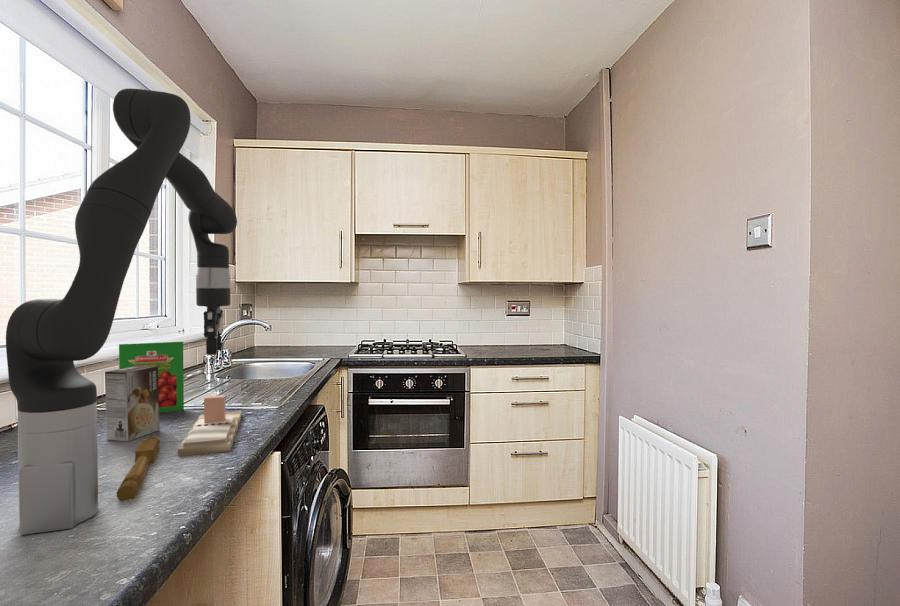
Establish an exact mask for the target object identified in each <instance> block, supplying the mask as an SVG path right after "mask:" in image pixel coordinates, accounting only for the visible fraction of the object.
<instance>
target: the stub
mask: <svg viewBox="0 0 900 606" xmlns="http://www.w3.org/2000/svg"><path fill="white" fill-rule="evenodd" d="M226 399H227V398H226V394H216V395H215V394H213V395H205V396H204V398H203V414H204V419H199V420H198V421H197V420H196V421H197V423H196V424H195V423H194V424H195V426H197V425H205V424H208V425H211V424H214V423H215V424H218V423H222V424H225V423H226V422H229V423H232V424H233V422H234V416H232V417H226V412H227V411H226V405H227V404H226V402H227V401H226Z"/></svg>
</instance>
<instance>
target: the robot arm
mask: <svg viewBox="0 0 900 606" xmlns="http://www.w3.org/2000/svg"><path fill="white" fill-rule="evenodd" d="M188 105H189V104H188V103H187V102H186V101H185V100H184V99H183V98H182V97H181V96H179V95H178V94H175V93H169V92H166V91H158V90H151V89H142V88H123V89H120V90H119V91H118V92H117V93H116V95H115V96H114V99H113V102H112V113H113V118H114V120H115V123H116V125H117V126H118V128H119V129H120V131H121V132H122V134H123V135H124V136H125V138H127V140H128V141H129V142H130V143H132V144H133V145H134V146H135V148H136V149H135V150H134V151H133V152H132V153H130V154H129V155H127V156H126V157H125V158H123V159H122V160H120V161H118V162H117V163H115V164H114V165H113V166H111V167H110V168H108V169H106V170H105V171H104V172H102V173H101V174H100V175H98V176H97V177H96V178H95V179H94V180H93V181H92V183H91V184H90V185H89V187H88V189H87V190H86V192H85V195H84V197H83V200H82V201H81V203H80V205H79V208H78V210H77V212H76V215H75V220H74V230H75V238H76V241H77V242H76V243H77V246H78V247H77V248H78V251H79V264H78V268H77V270H76V274H75V276H74V278H73V281H72V282H71V284H70V287H69V289H68V291H67V292H66V294H65V296H64V297H63V298H43V299H42V298H39V299H38V298H36V299H33V300H32V299H31V300H28V301H25V302H23V303H21V304H20V305H19V306H17V307H16V308H15V309H14V310H13V311H12V313H11V315H10V317H9V318H8V322H7V324H6V330H5V349H6V351H5V352H6V362H7V372H8V373H7V374H8V383H9V387H10V390H11V392H12V394H13V395H14V398H15V399H16V402H17V403H16V405H17V408H16V409H17V451H18V452H17V459H18V461H17V463H18V466H17V468H18V469H17V471H18V473H17V474H18V511H19V514H18V515H19V535H20V536H23V535H24V536H25V535H31V534H38V533H44V532H45V533H46V532H47V533H48V532H53V531H60V530H68V529H73V528H74V527H75V526H76V525H78V524H80V523H83V522H85V521H87V520H88V519H90V518H92V517H93V516H94V515H96V514H97V513H98V511H99V475H98V474H99V472H98V469H99V466H98V403H97V402H98V401H97V400H98V392H97V385H96V384H95V383H94V382H93V381H92V380H90V379H88V378H86V377H84V376H83V375H82V374H81V373H80V372H79V370H77V368H76V365H75V363H74V362H78V361H79V362H81V361H84V360H88V359H90V358H92V357H94V356H95V355H96V354H97V353H98V352H99V351H100V350H101V349H102V348H103V347H104V345H105V344H106V341H107V339H108V337H109V335H110V332H111V330H112V326H113V322H114V318H115V316H116V312H117V308H118V304H119V300H120V295H121V293H122V288H123V285H124V283H125V280H126V276H127V273H128V271H129V268H130V266H131V263H132V260H133V257H134V254H135V251H136V250H137V248H138V244H139V241H140V239H141V237H142V236H143V233H144V231H145V229H146V226H147V224H148V221H149V219H150V216H151V213H152V210H153V208H154V205H155V202H156V200H157V197H158V195H159V192H160V190H161V188H162V186H163V183H164V181H165V179H166V180H168V182H169V184H170V185H171V186H172V188H173V189H174V190H175V192H176V194H177V195H178V197H179V198H180V200H181V201H182V203H183V204H184V206H185V207H186V208H187V209H188V213H187V214H188V215H187V218H188V224H189V228H190V231H191V233H192V234H191V235H192V236H193V237H192V238H193V241H194V244H195V248H196V268H197V269H196V275H195V277H196V278H195V285H196V287H195V292H196V293H195V294H196V297H195V298H196V299H195V300H196V301H195V302H196V306H197V307H205V308H206V311H203V337H204V338H205V340H206V341H205V342H206V345H205V346H206V355H208V356H212V355H213V356H214V355H215V356H216V355H217V354H218V352H219V351H221V350H222V336H223V332H224V310H223V309H221V307H229V306H231V275H230V251H229V247H228V246H226V245H225V244H222V243H218V242H213V241H211V239H210V237H209V235H229V234H231V233H233V232H234V231H235V229H236V228H237V226H238V218H237V214H236V212H235V209H233V207H232V206H231V205H230V204H229V202H227V201H226V200H225V199H224V198H223V197H222V196H220V195H219V194H218V192H215V190H214V187H213V186H212V184H211V182H210V180H209V179H208V177H207V176H206V174H205V173H204V172H203V171H202V170H201V168H200V167H199V166H197V165H196V164H195V163H194V162H192V160H190V159H188V158H187V157H186V156H185V155H184V154H182V153H181V150H182V147H183V146H184V144H185V143H186V140H187V138H188V134H189V133H190V128H191V112H190V108H189V106H188Z"/></svg>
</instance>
